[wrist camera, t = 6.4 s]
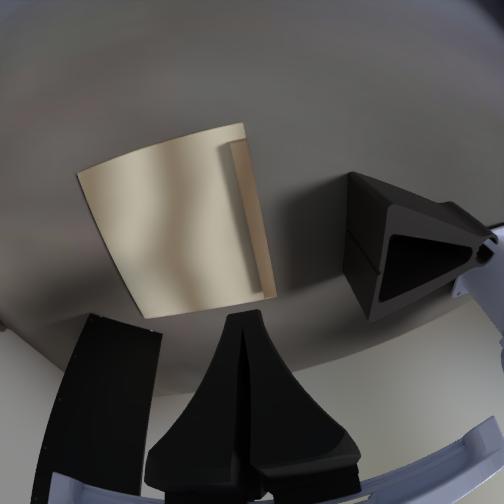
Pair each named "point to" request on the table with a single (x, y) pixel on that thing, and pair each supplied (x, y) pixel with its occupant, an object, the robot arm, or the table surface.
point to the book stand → (184, 222)
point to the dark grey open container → (405, 245)
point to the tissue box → (101, 410)
